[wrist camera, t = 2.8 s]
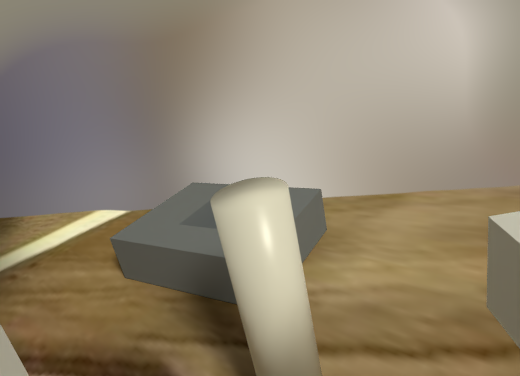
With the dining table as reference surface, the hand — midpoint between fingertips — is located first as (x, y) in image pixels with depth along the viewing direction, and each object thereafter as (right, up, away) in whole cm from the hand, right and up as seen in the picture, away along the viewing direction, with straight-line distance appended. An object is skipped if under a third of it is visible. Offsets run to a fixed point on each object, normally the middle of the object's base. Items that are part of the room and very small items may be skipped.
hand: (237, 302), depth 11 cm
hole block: (-3, -4, +34) cm, 34 cm away
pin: (+3, -11, +16) cm, 19 cm away
